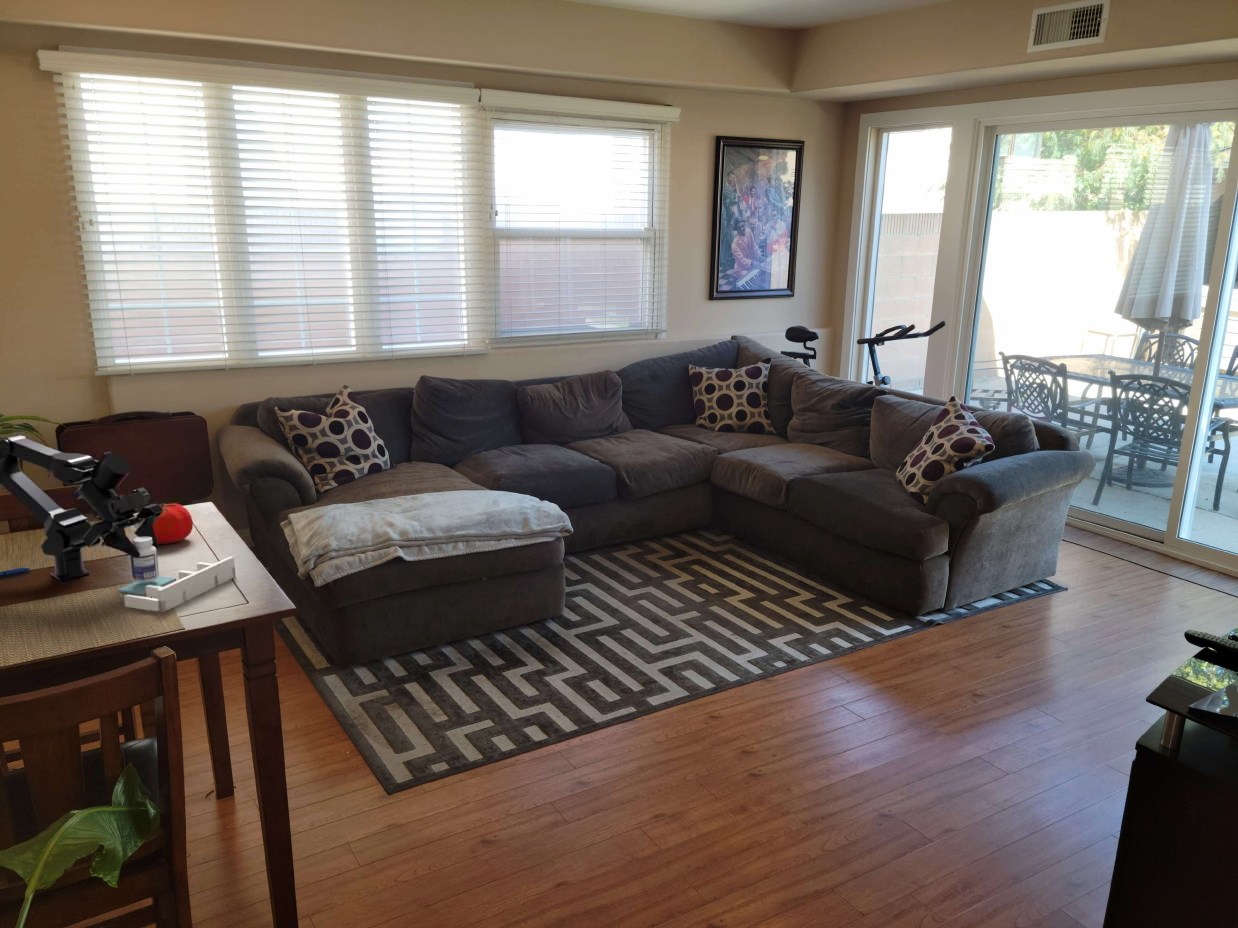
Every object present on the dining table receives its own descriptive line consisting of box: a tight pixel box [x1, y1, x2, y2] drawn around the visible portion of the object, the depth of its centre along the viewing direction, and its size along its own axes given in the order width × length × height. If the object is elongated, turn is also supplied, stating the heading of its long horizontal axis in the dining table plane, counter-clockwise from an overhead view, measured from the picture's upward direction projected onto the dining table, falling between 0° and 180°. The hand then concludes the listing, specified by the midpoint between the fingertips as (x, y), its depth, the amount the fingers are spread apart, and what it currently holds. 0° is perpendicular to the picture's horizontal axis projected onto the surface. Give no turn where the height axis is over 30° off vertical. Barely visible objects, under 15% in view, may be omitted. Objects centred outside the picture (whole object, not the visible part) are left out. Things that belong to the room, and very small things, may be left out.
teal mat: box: [117, 575, 177, 596], centre depth 208 cm, size 7×10×1 cm
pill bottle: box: [129, 536, 160, 583], centre depth 206 cm, size 5×5×10 cm
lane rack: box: [123, 556, 236, 613], centre depth 204 cm, size 10×23×5 cm, turn 164°
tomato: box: [153, 502, 194, 545], centre depth 237 cm, size 13×12×11 cm
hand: (148, 552), depth 205 cm, fingers closed on pill bottle, 5 cm apart
